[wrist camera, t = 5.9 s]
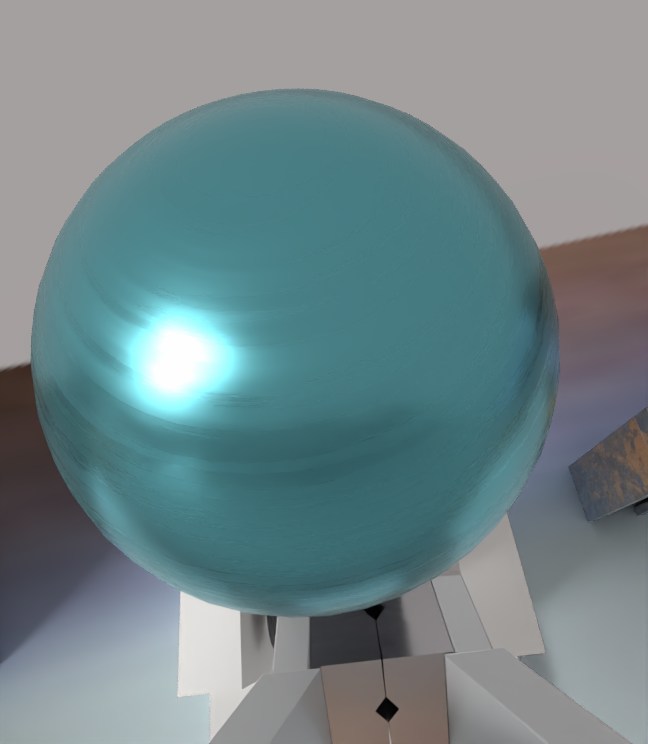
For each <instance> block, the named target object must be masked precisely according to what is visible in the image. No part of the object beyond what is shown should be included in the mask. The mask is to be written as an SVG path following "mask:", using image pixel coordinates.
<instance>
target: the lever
mask: <svg viewBox="0 0 648 744" xmlns="http://www.w3.org/2000/svg"><path fill="white" fill-rule="evenodd" d="M31 369H32V377H33V384H34V391H35V398H36V405H37V412H38V417H39V420H40V423H41V426H42V429H43V432H44V435H45V438H46V441H47V444H48V447H49V449H50V452H51V454H52V457H53V459H54V462H55V464H56V467H57V468H58V470H59V472H60V474H61V476H62V478H63V480H64V481H65V483H66V485H67V487H68V489H69V491H70V492H71V494H72V496H73V497H74V498H75V500H76V501H77V502H78V503H79V505H80V506H81V507H82V509H83V510H84V511H85V513H86V514H87V515H88V516H89V518H90V519H91V520H92V521H93V523H94V524H95V525H96V526H97V528H98V529H99V530H100V531H101V533H102V534H103V535H104V536H105V538H107V539H108V540H109V541H110V542H111V543H112V544H113V545H114V546H116V547H117V548H118V549H119V550H120V551H121V552H122V553H123V554H125V555H126V556H127V557H128V558H129V559H130V560H131V561H133V562H134V563H136V564H137V565H139V566H140V567H141V568H143V569H144V570H146V571H148V572H149V573H151V574H152V575H154V576H155V577H157V578H159V579H160V580H162V581H163V582H165V583H166V584H168V585H170V586H171V587H173V588H174V589H176V590H179V591H181V592H183V593H186V594H188V595H190V596H193V597H195V598H197V599H200V600H202V601H204V602H207V603H209V604H213V605H217V606H221V607H225V608H229V609H233V610H237V611H240V612H244V613H250V614H259V615H266V616H267V625H268V632H269V637H270V641H271V644H272V647H273V649H274V645H275V634H276V624H277V616H279V617H289V618H296V617H317V616H331V615H336V614H341V613H346V612H351V611H356V610H361V609H366V608H369V607H372V606H375V605H377V604H380V603H383V602H386V601H389V600H392V599H394V598H397V597H400V596H402V595H404V594H406V593H408V592H410V591H412V590H414V589H415V588H417V587H419V586H421V585H423V584H425V583H427V582H429V581H431V580H433V579H434V578H436V577H437V576H439V575H440V574H442V573H443V572H444V571H446V570H447V569H448V568H450V567H451V566H452V565H454V564H455V563H457V562H458V561H459V560H461V559H462V558H463V557H465V556H466V555H468V554H469V553H470V552H471V551H472V550H473V549H474V548H475V547H476V546H477V545H478V544H479V543H480V542H481V541H482V540H483V539H484V538H485V537H486V536H487V535H488V534H489V533H490V532H491V531H492V530H493V529H494V528H495V527H496V526H497V525H498V524H499V522H500V521H501V519H502V518H503V517H504V515H505V514H506V513H507V511H508V510H509V509H510V507H511V506H512V505H513V503H514V502H515V500H516V499H517V498H518V496H519V494H520V492H521V491H522V489H523V487H524V486H525V484H526V482H527V480H528V478H529V476H530V474H531V472H532V470H533V468H534V466H535V464H536V462H537V460H538V458H539V457H540V455H541V452H542V449H543V446H544V443H545V440H546V436H547V433H548V430H549V427H550V424H551V420H552V416H553V411H554V407H555V402H556V395H557V389H558V382H559V375H560V354H559V324H558V316H557V311H556V306H555V300H554V295H553V291H552V287H551V284H550V280H549V277H548V274H547V270H546V267H545V265H544V262H543V259H542V257H541V254H540V251H539V249H538V246H537V244H536V242H535V240H534V238H533V237H532V235H531V233H530V231H529V230H528V228H527V226H526V224H525V222H524V221H523V219H522V217H521V216H520V214H519V212H518V210H517V209H516V207H515V205H514V203H513V202H512V200H511V199H510V198H509V197H508V195H507V194H506V193H505V192H504V190H503V189H502V188H501V187H500V185H499V184H498V183H497V182H496V181H495V180H494V179H493V177H492V176H491V175H490V174H489V173H488V172H487V171H486V170H485V169H484V168H483V167H482V166H481V164H479V163H478V162H477V161H476V160H475V159H474V158H473V157H472V156H471V155H470V154H469V153H468V152H466V150H464V149H463V148H462V147H460V146H459V145H457V144H456V143H455V142H453V141H452V140H450V139H449V138H448V137H446V136H445V135H443V134H442V133H440V132H439V131H437V130H436V129H434V128H433V127H431V126H430V125H428V124H426V123H424V122H422V121H421V120H419V119H417V118H415V117H413V116H412V115H410V114H407V113H405V112H402V111H400V110H397V109H395V108H393V107H390V106H387V105H384V104H381V103H377V102H374V101H371V100H368V99H364V98H361V97H358V96H354V95H350V94H345V93H340V92H334V91H326V90H318V89H276V90H266V91H258V92H253V93H246V94H241V95H236V96H232V97H228V98H224V99H221V100H218V101H214V102H211V103H208V104H205V105H202V106H200V107H197V108H195V109H192V110H190V111H188V112H185V113H183V114H181V115H179V116H177V117H175V118H173V119H171V120H169V121H167V122H165V123H164V124H162V125H160V126H159V127H157V128H155V129H154V130H152V131H151V132H149V133H148V134H147V135H145V136H144V137H143V138H141V139H140V140H138V141H137V142H136V143H134V144H133V145H132V146H131V147H130V148H128V149H127V150H126V151H125V152H123V153H122V154H121V155H120V156H119V157H118V158H117V159H116V160H114V161H113V162H112V163H111V164H110V165H109V166H108V167H107V168H105V170H104V171H103V172H102V173H101V174H100V175H99V176H98V177H97V178H96V179H95V181H94V182H93V183H92V184H91V186H90V187H89V189H88V190H87V191H86V193H85V194H84V195H83V197H82V198H81V200H80V201H79V202H78V204H77V205H76V207H75V208H74V210H73V211H72V213H71V214H70V216H69V217H68V219H67V220H66V222H65V224H64V226H63V228H62V229H61V231H60V233H59V235H58V237H57V239H56V241H55V244H54V247H53V249H52V252H51V255H50V257H49V260H48V263H47V266H46V269H45V271H44V274H43V277H42V279H41V282H40V285H39V289H38V294H37V299H36V305H35V309H34V317H33V327H32V336H31Z"/></svg>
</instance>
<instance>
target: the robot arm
mask: <svg viewBox="0 0 648 744" xmlns="http://www.w3.org/2000/svg"><path fill="white" fill-rule="evenodd" d="M389 734H390V736H389ZM390 740H391V744H632V743H630V742H629V741H628V740H626V739H625V738H624V737H622V736H621V735H620V734H618V733H617V732H616V731H614V730H613V729H612V728H610V727H609V726H608V725H606V724H605V723H603V722H602V721H601V720H599V719H598V718H597V717H595V716H594V715H593V714H591V713H590V712H589V711H587V710H586V709H585V708H583V707H582V706H581V705H579V704H578V703H577V702H575V701H574V700H572V699H571V698H570V697H568V696H567V695H566V694H564V693H563V692H562V691H560V690H559V689H558V688H556V687H555V686H554V685H552V684H551V683H550V682H548V681H547V680H546V679H544V678H543V677H541V676H540V675H539V674H537V673H536V672H535V671H533V670H532V669H531V668H529V667H528V666H527V665H525V664H524V663H523V662H521V661H520V660H519V659H517V658H516V657H514V656H513V655H512V654H510V653H509V652H508V651H506V650H505V649H504V648H498V649H493V647H492V645H491V642H490V640H489V638H488V635H487V633H486V631H485V629H484V626H483V624H482V622H481V619H480V617H479V615H478V612H477V610H476V608H475V605H474V603H473V601H472V598H471V596H470V594H469V591H468V589H467V587H466V584H465V582H464V580H463V577H462V575H461V573H460V572H459V571H458V570H451V571H444V572H443V573H442V574H440V575H439V576H437V577H436V578H434V579H433V580H431V581H429V582H427V583H425V584H423V585H421V586H419V587H417V588H415V589H414V590H412V591H410V592H408V593H406V594H404V595H402V596H400V597H397V598H394V599H392V600H389V601H386V602H383V603H380V604H377V605H375V606H372V607H369V608H366V609H361V610H356V611H351V612H346V613H341V614H336V615H331V616H317V617H296V618H289V617H279V616H277V624H276V634H275V645H274V655H273V666H272V673H271V674H263V675H262V676H261V677H260V678H259V680H258V681H257V682H256V683H255V685H254V686H253V687H252V689H251V690H250V691H249V692H248V694H247V695H246V696H245V698H244V699H243V700H242V701H241V703H240V704H239V705H238V707H237V708H236V709H235V710H234V712H233V713H232V714H231V716H230V717H229V718H228V719H227V721H226V722H225V723H224V725H223V726H222V727H221V728H220V730H219V731H218V732H217V734H216V735H215V736H214V737H213V739H212V740H211V741H210V743H209V744H390Z"/></svg>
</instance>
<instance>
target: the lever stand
mask: <svg viewBox="0 0 648 744" xmlns="http://www.w3.org/2000/svg"><path fill="white" fill-rule="evenodd" d="M451 570H458V571H459V572H460V573H461V575H462V577H463V580H464V582H465V584H466V587H467V589H468V591H469V594H470V596H471V598H472V601H473V603H474V605H475V608H476V610H477V612H478V615H479V617H480V619H481V622H482V624H483V626H484V629H485V631H486V633H487V635H488V638H489V640H490V642H491V645H492V647H493V649H498V648H504V649H505V650H506V651H508V652H509V653H510V654H512V655H513V656H514V657H516V658H517V659H518V656H525V655H534V654H542V653H546V651H545V648H544V644H543V640H542V637H541V633H540V630H539V626H538V622H537V619H536V615H535V612H534V608H533V604H532V601H531V597H530V594H529V590H528V587H527V583H526V579H525V576H524V572H523V569H522V565H521V561H520V558H519V554H518V551H517V547H516V543H515V540H514V536H513V533H512V529H511V526H510V522H509V518H508V515H507V513H506V514H505V515H504V517H503V518H502V519H501V521H500V522H499V524H498V525H497V526H496V527H495V528H494V529H493V530H492V531H491V532H490V533H489V534H488V535H487V536H486V537H485V538H484V539H483V540H482V541H481V542H480V543H479V544H478V545H477V546H476V547H475V548H474V549H473V550H472V551H471V552H470V553H469V554H468V555H466V556H465V557H463V558H462V559H461V560H459V561H458V562H457V563H455V564H454V565H452V566H451V567H450V568H448V569H447V570H446V571H451ZM273 655H274V649H273V647H272V644H271V641H270V637H269V632H268V625H267V616H266V615H259V614H250V613H244V612H240V611H237V610H233V609H229V608H225V607H221V606H217V605H213V604H209V603H207V602H204V601H202V600H200V599H197V598H195V597H193V596H190V595H188V594H186V593H183V592H181V591H180V623H179V659H178V694H177V697H185V696H193V695H202V694H210V741H211V740H212V739H213V737H214V736H215V735H216V734H217V732H218V731H219V730H220V728H221V727H222V726H223V725H224V723H225V722H226V721H227V719H228V718H229V717H230V716H231V714H232V713H233V712H234V710H235V709H236V708H237V707H238V705H239V704H240V703H241V701H242V700H243V699H244V698H245V696H246V695H247V694H248V692H249V691H250V690H251V689H252V687H253V686H254V685H255V683H256V682H257V681H258V680H259V678H260V677H261V676H262V675H263V674H271V673H272V666H273ZM389 736H390V734H389ZM390 744H391V740H390Z"/></svg>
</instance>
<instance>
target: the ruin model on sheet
mask: <svg viewBox="0 0 648 744" xmlns="http://www.w3.org/2000/svg"><path fill="white" fill-rule="evenodd" d="M569 470H570V473H571V475H572V478H573V481H574V484H575V486H576V489H577V492H578V495H579V497H580V500H581V503H582V506H583V509H584V511H585V514H586V517H587V520H588V522H590V521H596V520H598V519H600V518H602V517H605V516H607V515H609V514H611V513H614V512H616V511H618V510H620V509H623V508H625V507H627V506H629V505H632V504H634V503H636V502H638V501H641V500H643V499H645V498H647V497H648V407H647V408H645V409H644V410H642V411H641V412H640V413H638V414H637V415H636V416H634V417H633V418H632V419H631V420H629V421H628V422H627V423H625V424H624V425H623V426H621V427H620V428H619V429H617V430H616V431H615V432H614V433H612V434H611V435H610V436H608V437H607V438H606V439H604V440H603V441H602V442H600V443H599V444H598V445H597V446H595V447H594V448H593V449H591V450H590V451H589V452H587V453H586V454H585V455H583V456H582V457H581V458H580V459H578V460H577V461H576V462H574V463H573V464H572V465H570V466H569ZM634 509H635V512H636V514H637V515H643V514H646V513H648V502H646V503H643V504H641V505H639V506H636V507H634Z"/></svg>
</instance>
